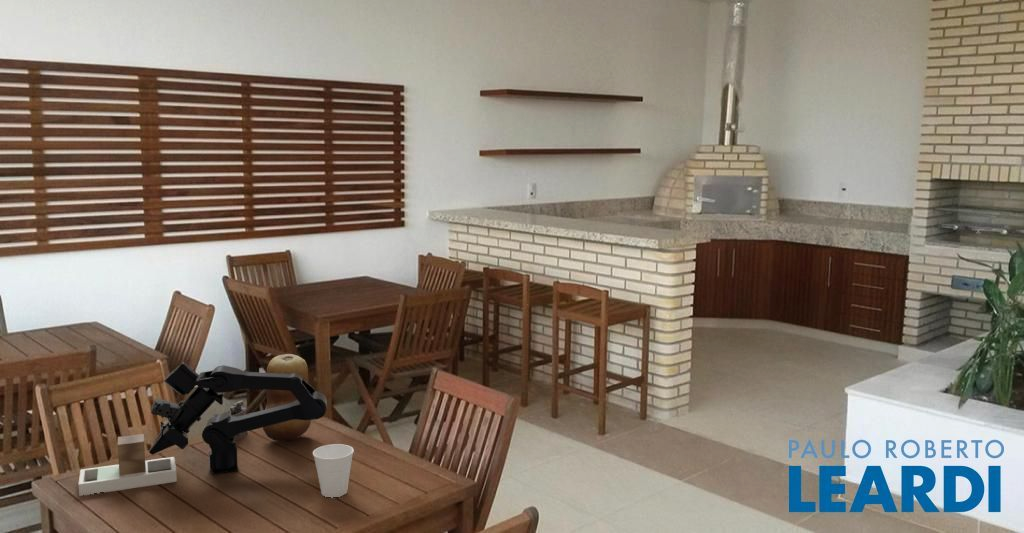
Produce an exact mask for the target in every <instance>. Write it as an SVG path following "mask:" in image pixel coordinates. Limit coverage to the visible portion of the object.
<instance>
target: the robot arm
mask: <svg viewBox="0 0 1024 533" xmlns="http://www.w3.org/2000/svg"><path fill="white" fill-rule="evenodd" d="M163 382H164V384H166V385H167V386H169V387H170V388H171V389H172V390H174V391H175V392H176V393H177V394H179V395H180V396H182V395H183V396H185V395H188V397H187V398H186V399H185V400H180V401H179V402H178V403H174V402H172V401H170V400H166V399H163V398H159V397H156V398H154V400H153V403H152V405H151V408H150V414H151V415H154V416H159V417H161V418H162V419H163V418H165V419H166V420H165V421H164V422H163V421H160V423H159V424H160V432H159V434H158V435H157V437H156V439H155V440H154V443H153V444H152V445H151V447H150V449H149V450H148V453H149V454H150V455H151V456H153V455H155V454H158V453H159V452H161V451H164V450H167V449H168V448H171V447H174V446H176V447H178V448H179V449H180V450H184V449H185V448H186V447H187V446H188V445H189V436H188V434H189V433H190V428H191V427H192V426H193V425H194V424H196V422H199V421H201V420H202V415H203V414H205V412H206V411H207V410H208V409H209V408H210V407H211V406H212V405H213V404H214V403H215V402H217V403H218V404H219V405H220V406H221V405H223V404H224V398H223V397H224V393H231V392H235V391H239V390H240V391H241V390H245V389H247V390H265V391H266V390H288V391H291V392H292V393H293V395H294V396H295V397H296V399H297V400H295V401H294V402H292V403H289V404H285V405H281V406H278V407H274V408H270V409H266V410H265V409H262V410H259V411H255V412H249V413H246V415H242V416H230V410H228V411H225V412H223V413H214V414H213V416H212V417H211V418H209V419H208V420H207V422H206V423H205V425H204V427H203V429H202V433H201V438H202V440H203V442H204V443H206V444H207V445H209V448H210V451H209V452H208V466H209V470H210V471H212V472H211V473H212V475H217V474H223V473H232V472H237V471H239V470H240V468H239V464H238V445H237V443H236V442H235V441H236V440H235V438H236V435H238V434H240V433H243V432H247V433H248V432H250V431H255V430H257V429H261V428H262V429H263V427H266V426H270V425H274V424H278V423H282V422H286V421H289V420H294V419H296V420H311V421H313V420H319V419H321V418H323V417H324V416H325V414H326V413H327V404H328V403H327V397H326V395H324V393H322V392H320V391H317V390H316V389H315V388H314V387H313V386H312V385H311V384H309V382H308V383H307V382H306V381H305V380H304V379H303V378H302V377H301V376H300V375H299V374H296V373H293V374H280V373H267V372H259V371H258V372H257V371H254V372H253V371H246V370H242V369H240V368H238V367H234V366H229V365H219V366H218V365H217V366H216V367H214V369H212V370H207V371H202V372H200V373H199V374H198V372H196V371H195V370H194V369H193V368H192V367H190V366H189V364H188V363H186V362H185V361H183V362H181V363H180V364H179V365H178V366H177V367H176V368H174V369H173V370H172V371H171V372H170V373H169V374H168V375H167V376H166V378H164V380H163ZM196 386H197V387H196ZM192 390H193V392H192ZM189 393H190V394H189Z"/></svg>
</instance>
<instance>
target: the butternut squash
mask: <svg viewBox="0 0 1024 533" xmlns="http://www.w3.org/2000/svg"><path fill="white" fill-rule="evenodd" d="M266 373H280V374H293V373H296V374H299V375H300V376H301V377H302V378H303V379H304V380H305V381H306V382H307V383H308V384H309V368H308V364H307V362H306V360H305V359H304V358H303V357H300V356H299V355H296V354H294V353H293V354H291V353H286V354H279V355H277V356H274V357H273V358H272V359H271V360H270V361H269V363H268V365H267V368H266ZM265 391H266V398H267V400H266V406H265V409H264V410H266V409H270V408H274V407H278V406H281V405H285V404H289V403H292V402H294V401H295V400H297V399H296V397H295V396H294V395H293V393H292V392H291V391H288V390H266V389H265ZM311 422H312V420H296V419H294V420H289V421H286V422H282V423H278V424H274V425H270V426H266V427H262V430H263V431H264V433H265V435H266V436H267V437H268V438H269V439H271V440H272V441H278V442H293V441H295V440H297V439H298V438H299V437H301V436H302V435H304V434H305V433H306V432H307V431H308V429H310V426H311Z"/></svg>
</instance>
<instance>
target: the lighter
mask: <svg viewBox="0 0 1024 533" xmlns="http://www.w3.org/2000/svg"><path fill="white" fill-rule="evenodd" d="M229 411H230V416H242V415H246V414H247V408H246V407H244V401H243V400H239V401H238V402H236V403H232V404H231V406H230V407H229ZM246 433H247V434H248V431H247V432H243V433H240V434H238V435H236V438H235V441H237V440H240V439H241V438H243V437H244V436H246V435H247V434H246ZM245 434H246V435H245Z"/></svg>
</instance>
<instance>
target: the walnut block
mask: <svg viewBox="0 0 1024 533" xmlns="http://www.w3.org/2000/svg"><path fill="white" fill-rule="evenodd" d="M144 434H145V433H139V434H133V435H124V436H118V437H117V457H118V464H119V474H120V475H127V474H134V473H141V472H146V465H145V461H146V452H145V451H146V449H145V435H144Z"/></svg>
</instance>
